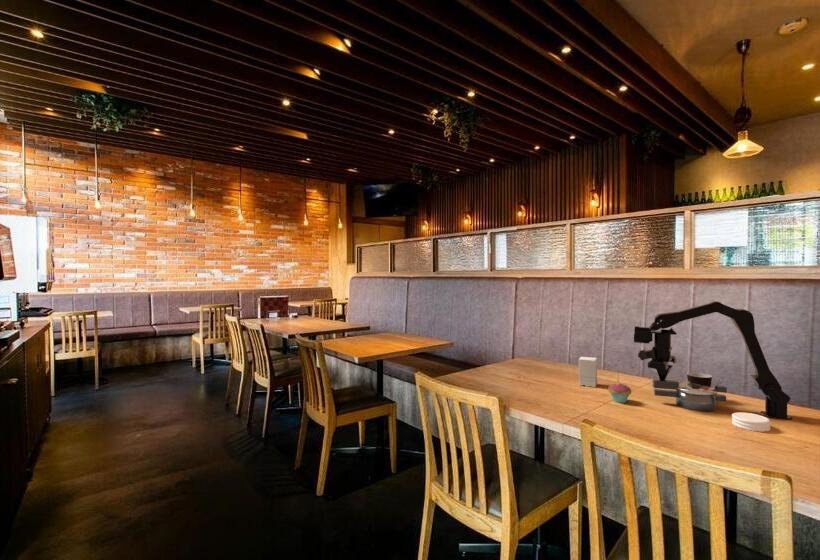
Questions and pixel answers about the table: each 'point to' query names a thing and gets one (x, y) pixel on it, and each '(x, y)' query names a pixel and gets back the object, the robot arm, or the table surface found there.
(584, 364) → the supplement box
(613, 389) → the cupcake
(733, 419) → the coaster
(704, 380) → the coffee mug
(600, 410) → the table surface
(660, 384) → the lid
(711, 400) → the pot
